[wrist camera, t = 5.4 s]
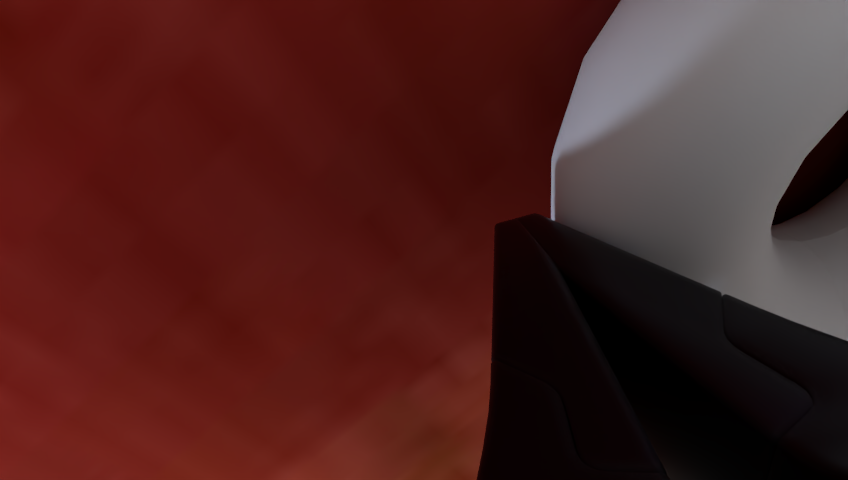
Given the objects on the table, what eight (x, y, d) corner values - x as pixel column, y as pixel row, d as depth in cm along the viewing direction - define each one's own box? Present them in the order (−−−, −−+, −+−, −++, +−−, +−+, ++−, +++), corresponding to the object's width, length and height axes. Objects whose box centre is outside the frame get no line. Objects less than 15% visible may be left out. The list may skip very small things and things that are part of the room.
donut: (1130, -320, 8) (462, -81, 8) (1624, -442, 5) (562, -62, 5) (942, 235, 13) (558, 375, 13) (1118, 329, 10) (631, 508, 10)
